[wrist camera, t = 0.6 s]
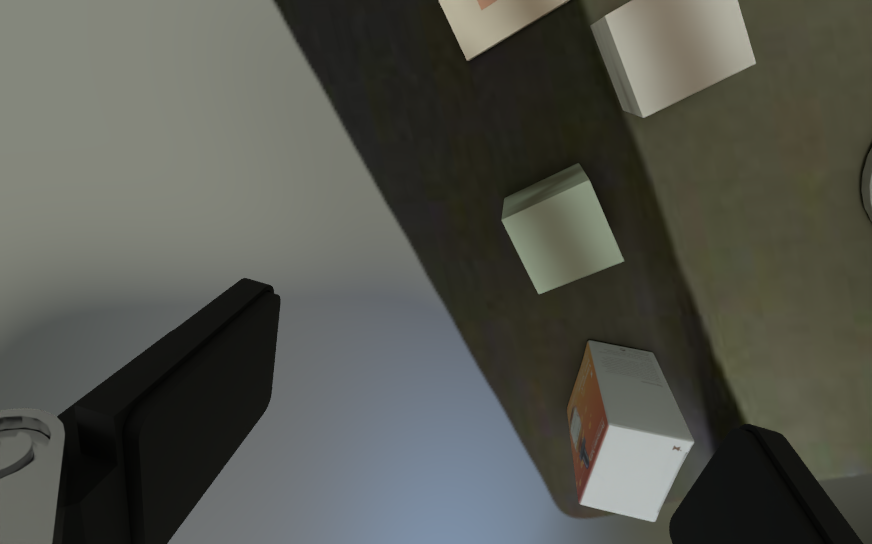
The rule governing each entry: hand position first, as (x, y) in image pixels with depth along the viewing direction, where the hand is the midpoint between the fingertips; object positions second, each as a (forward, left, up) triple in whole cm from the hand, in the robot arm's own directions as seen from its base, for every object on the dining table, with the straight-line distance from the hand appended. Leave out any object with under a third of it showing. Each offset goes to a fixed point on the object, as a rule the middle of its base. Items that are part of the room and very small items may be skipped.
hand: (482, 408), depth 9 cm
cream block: (-11, -3, -28) cm, 30 cm away
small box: (+1, +21, -28) cm, 35 cm away
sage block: (-1, +5, -28) cm, 29 cm away
